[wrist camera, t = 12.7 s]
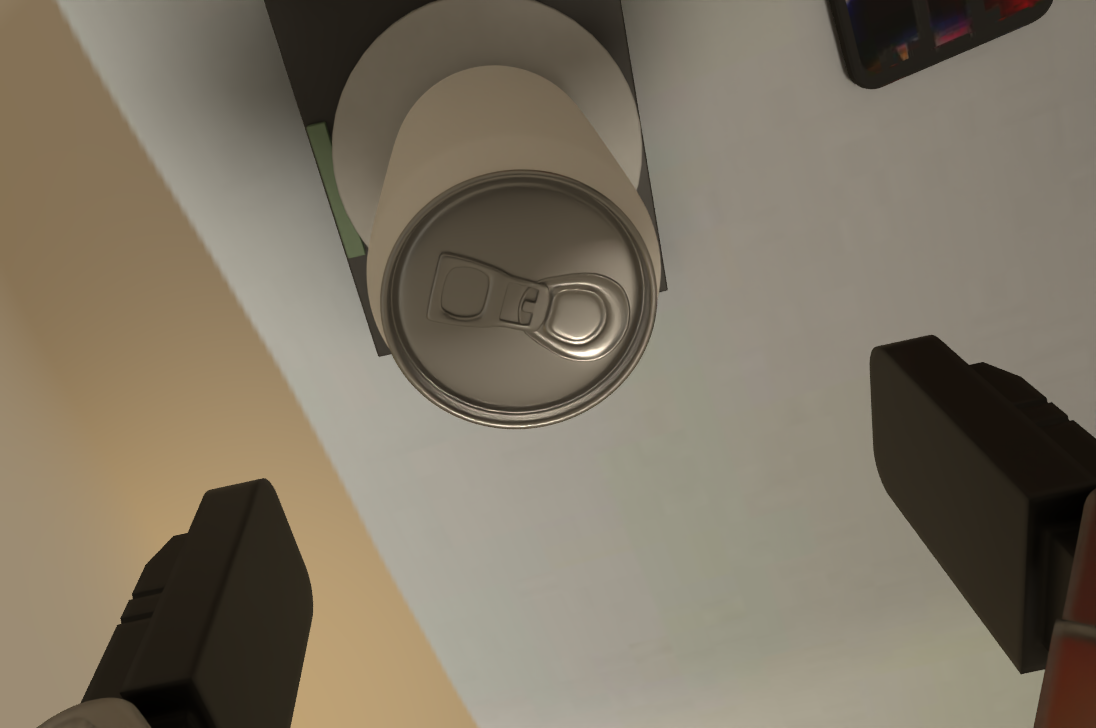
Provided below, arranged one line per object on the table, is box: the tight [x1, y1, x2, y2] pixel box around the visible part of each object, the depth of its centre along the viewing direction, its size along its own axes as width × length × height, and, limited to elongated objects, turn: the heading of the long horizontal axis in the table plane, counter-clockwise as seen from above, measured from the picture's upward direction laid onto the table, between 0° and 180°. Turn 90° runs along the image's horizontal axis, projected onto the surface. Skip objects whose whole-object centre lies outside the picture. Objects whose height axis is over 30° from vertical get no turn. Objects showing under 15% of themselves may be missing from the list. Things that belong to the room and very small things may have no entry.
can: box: [367, 65, 661, 429], centre depth 24 cm, size 6×6×12 cm
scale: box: [264, 0, 668, 357], centre depth 31 cm, size 12×10×3 cm
